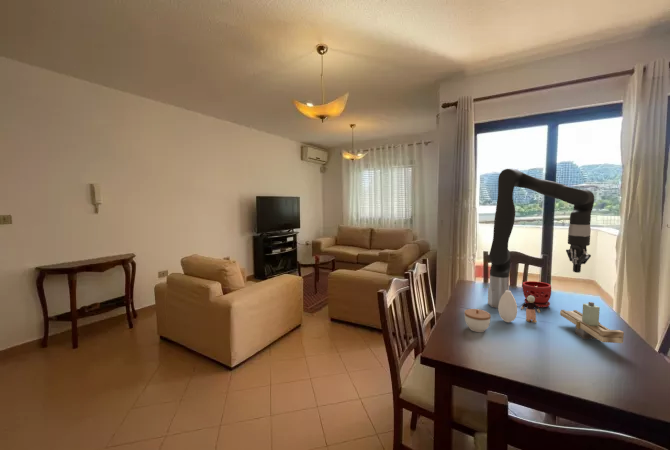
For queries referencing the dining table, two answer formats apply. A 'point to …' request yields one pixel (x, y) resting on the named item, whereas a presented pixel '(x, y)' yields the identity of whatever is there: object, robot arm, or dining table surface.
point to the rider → (591, 314)
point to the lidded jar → (477, 319)
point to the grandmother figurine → (530, 309)
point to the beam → (592, 329)
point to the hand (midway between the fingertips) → (576, 272)
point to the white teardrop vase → (507, 306)
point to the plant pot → (537, 292)
